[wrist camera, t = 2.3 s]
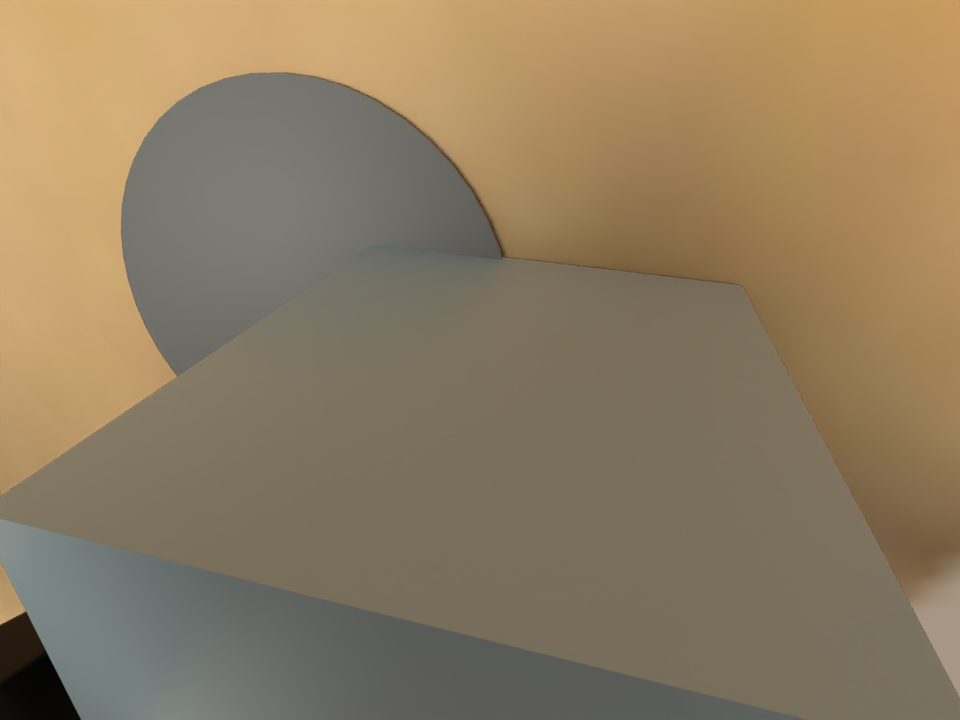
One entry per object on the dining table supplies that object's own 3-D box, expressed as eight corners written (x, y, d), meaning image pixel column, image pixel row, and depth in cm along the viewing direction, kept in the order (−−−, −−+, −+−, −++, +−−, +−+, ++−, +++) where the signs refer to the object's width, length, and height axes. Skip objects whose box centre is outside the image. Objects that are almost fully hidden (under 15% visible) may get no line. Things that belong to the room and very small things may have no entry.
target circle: (332, 519, 17) (329, 524, 17) (67, 268, 15) (60, 271, 15) (603, 345, 12) (603, 348, 12) (272, -55, 10) (266, -57, 10)
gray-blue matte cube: (662, 561, 15) (700, 1093, 7) (387, 503, 16) (169, 894, 8) (741, 285, 11) (996, 765, 3) (377, 241, 12) (-25, 511, 5)
